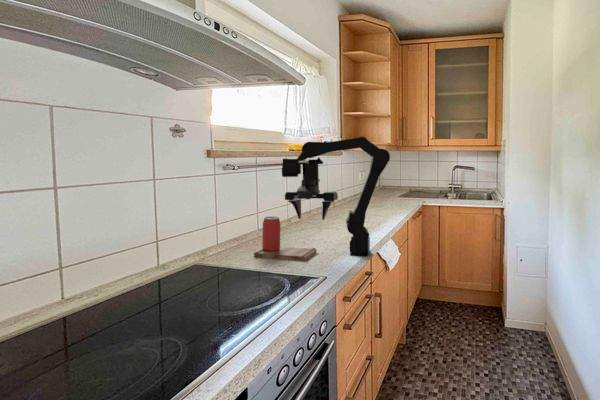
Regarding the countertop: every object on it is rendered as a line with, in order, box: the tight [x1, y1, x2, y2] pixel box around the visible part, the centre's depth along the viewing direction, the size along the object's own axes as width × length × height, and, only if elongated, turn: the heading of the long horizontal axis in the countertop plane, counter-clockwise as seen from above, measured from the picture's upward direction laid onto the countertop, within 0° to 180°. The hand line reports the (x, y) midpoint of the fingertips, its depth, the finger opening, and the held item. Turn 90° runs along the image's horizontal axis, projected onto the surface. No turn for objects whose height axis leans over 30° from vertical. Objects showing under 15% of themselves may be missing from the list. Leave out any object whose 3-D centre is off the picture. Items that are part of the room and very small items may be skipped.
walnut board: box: [253, 246, 318, 262], centre depth 155 cm, size 20×12×2 cm, turn 69°
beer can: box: [261, 216, 281, 251], centre depth 156 cm, size 7×7×12 cm
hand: (311, 219), depth 154 cm, fingers open, 9 cm apart
